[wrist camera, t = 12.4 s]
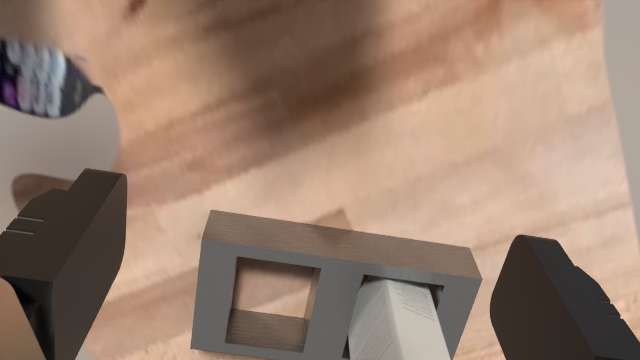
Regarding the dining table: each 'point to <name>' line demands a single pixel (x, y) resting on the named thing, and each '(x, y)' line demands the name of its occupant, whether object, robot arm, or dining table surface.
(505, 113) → the dining table surface
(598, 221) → the dining table surface
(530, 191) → the dining table surface
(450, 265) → the holder
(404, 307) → the skincare box
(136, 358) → the dining table surface
